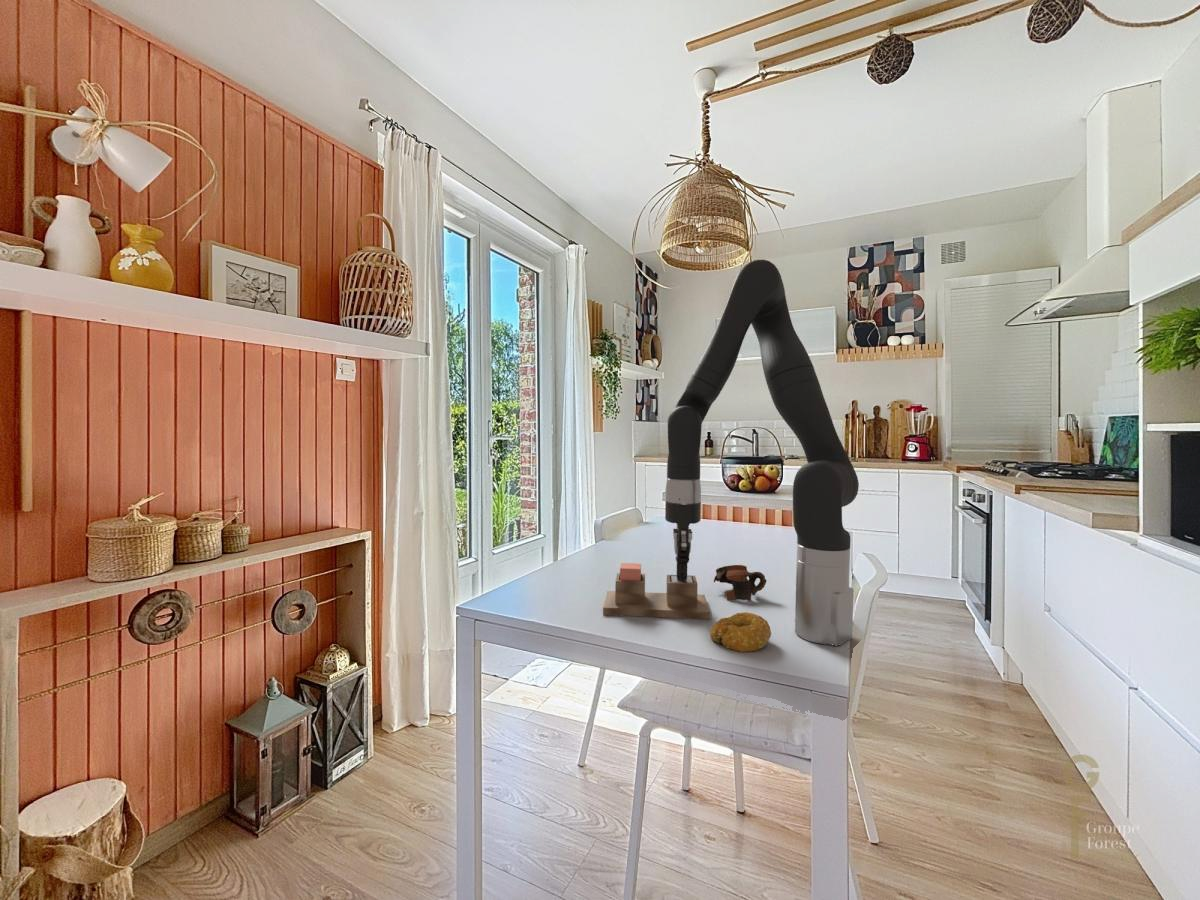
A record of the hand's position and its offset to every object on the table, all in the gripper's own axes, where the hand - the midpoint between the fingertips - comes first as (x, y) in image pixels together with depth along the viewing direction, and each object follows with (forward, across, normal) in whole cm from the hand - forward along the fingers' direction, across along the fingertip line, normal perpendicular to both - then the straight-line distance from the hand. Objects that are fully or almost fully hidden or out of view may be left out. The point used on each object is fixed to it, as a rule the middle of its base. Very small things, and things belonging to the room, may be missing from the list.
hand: (681, 578), depth 113 cm
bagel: (+7, +16, +10) cm, 20 cm away
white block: (+5, 0, 0) cm, 5 cm away
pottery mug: (+7, -11, +14) cm, 19 cm away
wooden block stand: (+6, 0, -6) cm, 9 cm away
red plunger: (+3, 0, -11) cm, 11 cm away
